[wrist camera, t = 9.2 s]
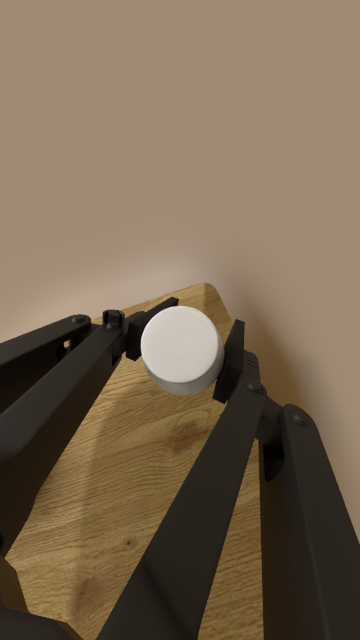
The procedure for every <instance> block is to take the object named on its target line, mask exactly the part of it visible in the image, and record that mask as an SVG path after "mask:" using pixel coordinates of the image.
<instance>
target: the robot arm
mask: <svg viewBox="0 0 360 640" xmlns="http://www.w3.org/2000/svg"><path fill="white" fill-rule="evenodd" d="M178 301H179V299H177V298H174V297H170V298H169V299H167V300H166V301H164V302H162V303H161V304H159V305H157V306H156V307H154V308H152V309H151V310H149V311H147V312H144V311H140V312H136V313H134V314H133V315H130V316H129V317H127V318H125V314H124V313H123V312H122V311H119V310H106V311H104V312H103V324H102V325H97V324H92V323H91V318H90V317H89V316H87V315H81V314H79V315H73V316H70V317H67V318H64V319H62V320H59V321H57V322H54V323H51V324H49V325H46V326H44V327H42V328H39V329H36V330H34V331H31V332H28V333H26V334H23V335H21V336H18V337H16V338H13V339H10V340H8V341H5V342H3V343H0V640H83V639H82V638H81V637H80V636H79V635H78V634H77V633H76V632H75V630H74V629H73V628H72V627H71V626H70V625H69V624H68V623H66V622H62V621H58V620H54V619H50V618H46V617H41V616H37V615H33V614H31V613H30V612H29V611H28V609H27V606H26V602H25V599H24V596H23V592H22V589H21V586H20V583H19V579H18V576H17V573H16V570H15V569H14V568H13V567H12V566H11V565H10V564H9V563H8V562H7V561H6V560H5V559H4V558H5V556H6V554H7V553H8V551H9V549H10V548H11V546H12V544H13V543H14V541H15V539H16V538H17V536H18V535H19V533H20V531H21V530H22V528H23V526H24V524H25V522H26V521H27V519H28V517H29V515H30V512H31V510H32V508H33V505H34V501H35V498H36V496H37V493H38V491H39V490H40V488H41V486H42V484H43V483H44V481H45V480H46V478H47V477H48V475H49V473H50V472H51V470H52V469H53V467H54V465H55V464H56V462H57V461H58V459H59V457H60V456H61V454H62V453H63V451H64V450H65V448H66V446H67V445H68V443H69V442H70V440H71V438H72V437H73V435H74V434H75V432H76V431H77V429H78V427H79V426H80V424H81V423H82V421H83V419H84V418H85V416H86V415H87V413H88V411H89V410H90V408H91V407H92V405H93V404H94V402H95V400H96V399H97V397H98V396H99V394H100V392H101V391H102V389H103V388H104V386H105V385H106V383H107V381H108V380H109V378H110V377H111V375H112V373H113V372H114V370H115V369H116V367H117V365H118V364H119V362H120V361H121V358H122V354H123V353H124V352H125V351H126V357H127V358H129V359H131V360H133V361H136V360H137V359H138V358H139V357H140V356H141V355H142V353H141V338H142V335H143V332H144V329H145V327H146V325H147V324H148V323H149V321H150V320H151V319H152V318H153V317H154V316H155V315H156V314H158V313H159V312H161V311H163V310H165V309H167V308H170V307H175V306H178ZM244 325H245V322H243V321H240V320H237V319H236V320H235V322H234V325H233V327H232V329H231V332H230V334H229V336H228V339H227V341H226V343H225V347H224V351H225V357H224V364H223V368H222V370H221V372H220V374H219V376H218V378H217V381H216V385H215V390H214V394H213V399H215V400H217V401H219V402H221V403H223V404H225V403H226V401H227V399H228V402H227V406H226V407H225V409H224V411H223V413H222V415H221V416H220V418H219V420H218V422H217V423H216V425H215V427H214V429H213V431H212V432H211V434H210V436H209V438H208V440H207V441H206V443H205V445H204V447H203V449H202V450H201V452H200V454H199V456H198V458H197V459H196V461H195V463H194V465H193V467H192V468H191V470H190V472H189V474H188V476H187V477H186V479H185V481H184V483H183V484H182V486H181V488H180V490H179V492H178V493H177V495H176V497H175V499H174V501H173V502H172V504H171V506H170V508H169V510H168V511H167V513H166V515H165V517H164V519H163V520H162V522H161V524H160V526H159V528H158V529H157V531H156V533H155V535H154V537H153V538H152V540H151V542H150V544H149V546H148V547H147V549H146V551H145V553H144V554H143V556H142V558H141V560H140V562H139V563H138V565H137V567H136V569H135V570H134V572H133V574H132V576H131V578H130V579H129V581H128V583H127V585H126V587H125V588H124V590H123V592H122V594H121V595H120V597H119V599H118V601H117V603H116V604H115V606H114V608H113V610H112V612H111V613H110V615H109V617H108V619H107V621H106V622H105V624H104V626H103V628H102V630H101V631H100V633H99V635H98V637H97V639H96V640H197V639H198V633H199V629H200V625H201V621H202V617H203V614H204V611H205V607H206V604H207V600H208V597H209V593H210V590H211V586H212V583H213V579H214V576H215V573H216V569H217V566H218V562H219V559H220V555H221V552H222V548H223V545H224V541H225V538H226V535H227V531H228V528H229V524H230V521H231V517H232V514H233V510H234V507H235V503H236V500H237V497H238V493H239V490H240V486H241V483H242V479H243V476H244V472H245V469H246V465H247V462H248V458H249V455H250V452H251V448H252V445H253V441H254V438H256V439H257V440H259V441H258V443H259V480H260V516H261V553H262V589H263V626H264V640H360V544H359V542H358V539H357V536H356V533H355V531H354V528H353V525H352V523H351V520H350V517H349V514H348V512H347V509H346V506H345V503H344V500H343V498H342V495H341V492H340V490H339V487H338V484H337V482H336V479H335V476H334V473H333V470H332V468H331V465H330V462H329V459H328V457H327V454H326V451H325V449H324V446H323V443H322V441H321V438H320V435H319V432H318V429H317V427H316V424H315V423H314V421H313V419H312V418H311V417H310V416H309V415H308V414H307V413H306V412H305V411H303V410H302V409H301V408H299V407H297V406H295V405H292V404H286V405H285V406H284V407H282V406H280V405H279V404H277V403H276V402H274V401H273V400H272V399H270V398H269V397H268V396H267V391H266V389H265V387H264V386H263V385H262V384H261V382H260V373H259V365H258V364H259V363H258V358H257V357H256V355H255V354H253V353H251V352H248V351H246V350H244ZM68 340H69V346H68V347H64V342H66V341H68Z"/></svg>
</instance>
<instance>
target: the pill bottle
mask: <svg viewBox="0 0 360 640" xmlns="http://www.w3.org/2000/svg"><path fill="white" fill-rule="evenodd" d="M141 353H142V357H143V360H144V363H145V367H146V370H147V372H148V374H149V376H150V378H151V379H152V380H153V382H154V383H155V384H156V385H158V386H159V387H160V388H161V389H163V390H164V391H166V392H168V393H171V394H174V395H181V396H188V395H194V394H197V393H200V392H202V391H204V390H205V389H207V388H208V387H209V386H211V385H212V384H213V383H214V382H215V380H216V379H217V378H218V376H219V374H220V372H221V370H222V368H223V364H224V357H225V351H224V345H223V342H222V339H221V337H220V335H219V333H218V331H217V330H216V328H215V326H214V324H213V323H212V321H211V320H210V319H209V318H208V317H207V316H206V315H205V314H204V313H202V312H200V311H199V310H197V309H194V308H191V307H187V306H175V307H170V308H167V309H165V310H163V311H161V312H159V313H158V314H156V315H155V316H154V317H153V318H152V319H151V320H150V321H149V323H148V324H147V325H146V327H145V329H144V332H143V335H142V338H141Z"/></svg>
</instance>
